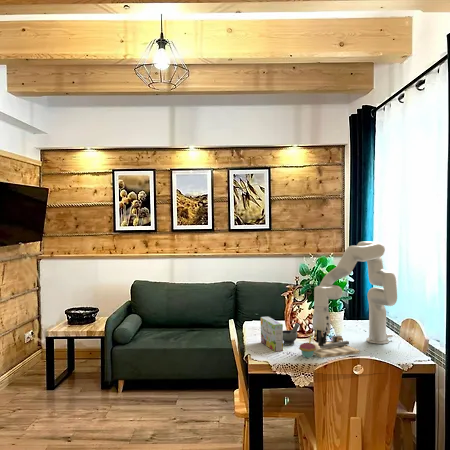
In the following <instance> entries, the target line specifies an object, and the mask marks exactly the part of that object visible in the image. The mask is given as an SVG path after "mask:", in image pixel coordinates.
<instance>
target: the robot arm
mask: <svg viewBox="0 0 450 450" xmlns="http://www.w3.org/2000/svg"><path fill="white" fill-rule="evenodd" d="M385 251H386V248H385V245H384V244H383V243H382V242H379V241H368V240H367V241H359V242H358V243H357V244H356V245H349V246H348V247H347V248H346V249H345V251H344V253H343V255H342V257H341V258H340V260H339V262H338V263H337V266H336V267H334V268H333V269H331V270H330V271H329V272H328V273H326V274H325V275H324V276H323V278H322V280H320V281H321V282H320V283H319V285H317V286H315V287H314V289H313V290H314V291H313V296H314V297H313V300H314V301H313V306H314V307H313V313H312V326H311V328H312V330H313V331H314V333H315V337H316V338H315V343H318V330H320V331H321V333H322V337H321V344H326V342H327V337H328V335H329V334H330V333H331V329H332V325H331V324H332V323H331V314H330V312H329V300H338V299H340V298H342V296H343V289H342V287H340V286H339V285H335V284H334V283H335V282H336V281H338V280H340V279H343V278H346V277H348V276H350V275H351V274H352V272H353V270H354V268H355V267H356V265H357V263H358V262H366V263H367V273H368V281H369V283H370V284H371V285H372V286H374V287H371V288H370V289H369V290H367V291H368V292H367V301H368V312H369V314H368V337H366V342H368V343H370V344H375V345H385V344H388V343H389V342H390V340H389V338H393V337H394V335H393V333H390V334H388V333H387V309H386V306H387V307H393V306H395V305H396V303H397V301H398V288H397V278H396V275H395V273H394V272H392V271H391V270H389V269H388V270H385V269H384V266H383V265H384V264H383V259H382V256H384V254H385Z"/></svg>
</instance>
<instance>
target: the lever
mask: <svg viewBox="0 0 450 450" xmlns="http://www.w3.org/2000/svg"><path fill="white" fill-rule="evenodd" d="M321 337H322V333H321V331H320V330H318V346H320V348H322V349H323V348H329V347H335V346H341V345H349V344H350V341H348V340H344V339H343V340H339V342H336V343H329V344H321Z"/></svg>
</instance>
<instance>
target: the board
mask: <svg viewBox="0 0 450 450" xmlns="http://www.w3.org/2000/svg"><path fill="white" fill-rule="evenodd" d="M329 343H334V342H332V340H331V341H326V344H329ZM335 343H336V342H335ZM312 344H313V345H315V347H316V350H315V351H314V352H313V355H314V356H317V357H319V358H322V359H323V358H328V357H336V356H337V357H338V356H346V355H347V356H348V355H353V354H354V355H356V354H360V353H361V352H360V349H358V348H356V347H353V346H350V345H349V344H347V345H341V346H335V347H329V348H323V349H322V348H320V346H318V343H317V342H314V343H312Z"/></svg>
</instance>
